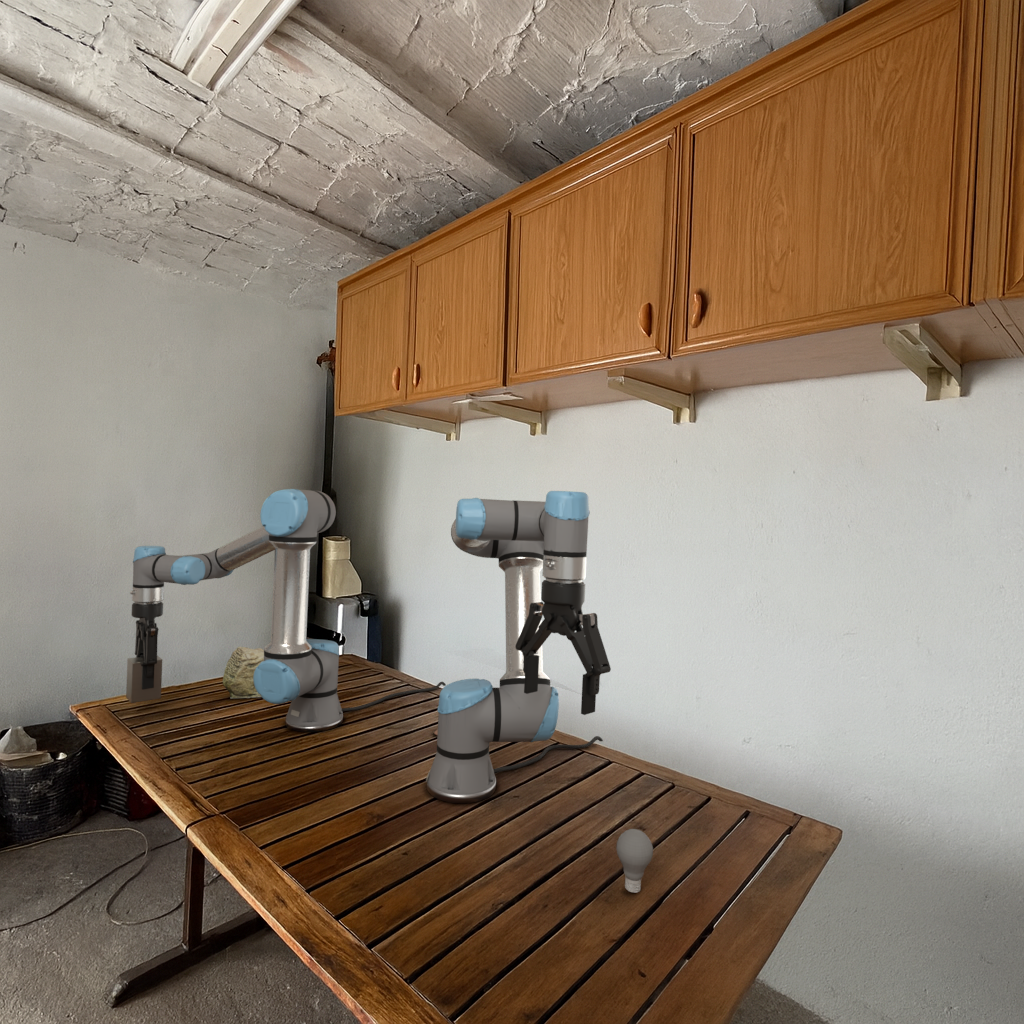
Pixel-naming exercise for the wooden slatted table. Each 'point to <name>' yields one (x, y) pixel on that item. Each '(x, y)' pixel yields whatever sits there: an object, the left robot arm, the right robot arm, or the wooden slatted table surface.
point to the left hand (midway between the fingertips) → (144, 685)
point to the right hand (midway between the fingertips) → (558, 702)
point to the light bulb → (634, 857)
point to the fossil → (242, 672)
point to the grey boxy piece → (135, 681)
